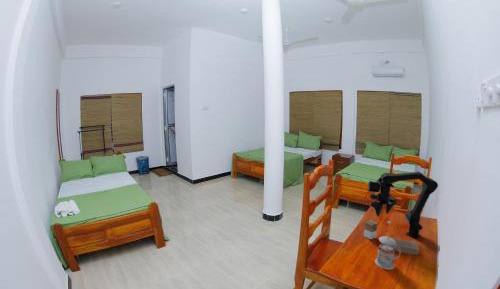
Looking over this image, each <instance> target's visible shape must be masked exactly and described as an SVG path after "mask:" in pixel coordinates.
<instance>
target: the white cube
mask: <svg viewBox="0 0 500 289" xmlns="http://www.w3.org/2000/svg"><path fill="white" fill-rule="evenodd" d="M363 236H364V237H365V238H367V239H369V240H370V239H371V240H373V238H374V239H375V238H377V231H374V232H370V231H368V230H366V229H365V228H364V232H363Z"/></svg>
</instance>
